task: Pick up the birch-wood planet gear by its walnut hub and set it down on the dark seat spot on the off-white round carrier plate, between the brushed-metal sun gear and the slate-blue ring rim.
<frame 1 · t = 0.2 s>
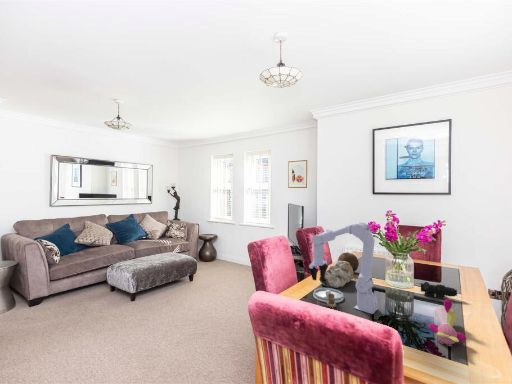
hand: (318, 278, 154), 10 cm above the table, fingers open, 7 cm apart
night vision scope: (437, 297, 153), on the table
wooden sphere: (347, 272, 198), on the table
toy: (446, 335, 113), on the table
planet gear: (331, 306, 140), on the table
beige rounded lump: (338, 283, 174), on the table
carrier plate: (328, 296, 152), on the table
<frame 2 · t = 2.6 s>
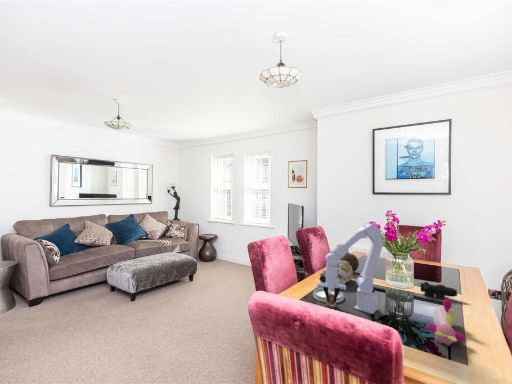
hand: (331, 301, 140), 2 cm above the table, fingers closed on planet gear, 3 cm apart
planet gear: (331, 306, 140), on the table, touching gripper
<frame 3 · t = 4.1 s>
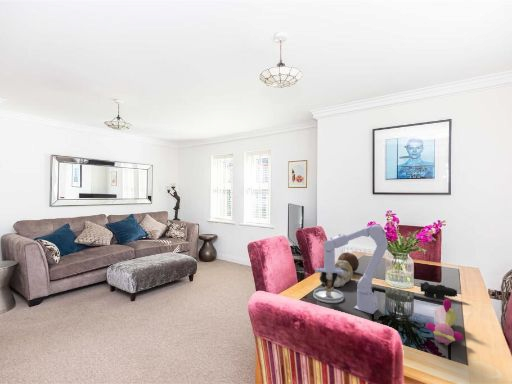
hand: (329, 286, 145), 8 cm above the table, fingers closed on planet gear, 3 cm apart
planet gear: (329, 290, 145), point 6 cm above the table, touching gripper
when the fingers open (4 cm above the table, at t = 5.7 s): planet gear stays where it is, resting on carrier plate.
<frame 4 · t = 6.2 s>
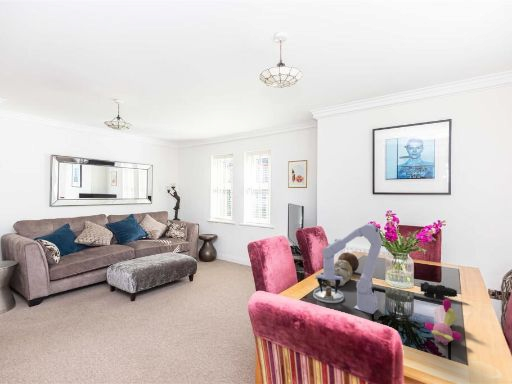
hand: (328, 292, 148), 4 cm above the table, fingers open, 7 cm apart
planet gear: (328, 298, 147), point 1 cm above the table, touching carrier plate
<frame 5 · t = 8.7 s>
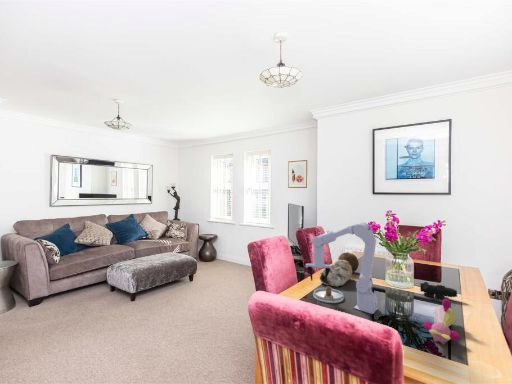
hand: (318, 280, 152), 9 cm above the table, fingers open, 7 cm apart
at the end: planet gear 0.1 cm from the target spot on the carrier plate, point 1.1 cm above the carrier plate's base; planet gear tilted 0°; the gripper is holding nothing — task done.
